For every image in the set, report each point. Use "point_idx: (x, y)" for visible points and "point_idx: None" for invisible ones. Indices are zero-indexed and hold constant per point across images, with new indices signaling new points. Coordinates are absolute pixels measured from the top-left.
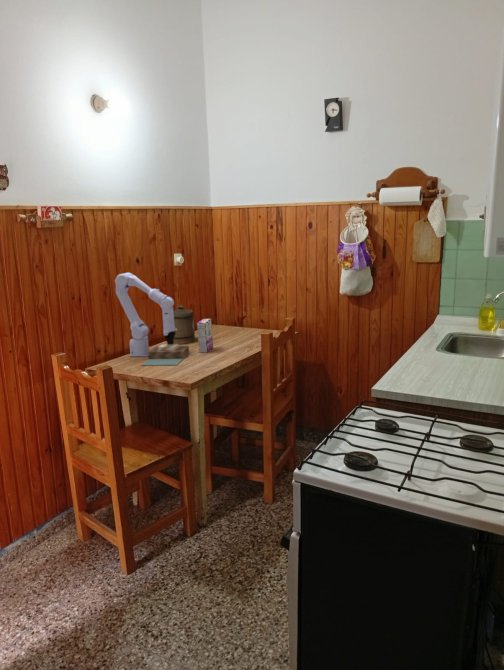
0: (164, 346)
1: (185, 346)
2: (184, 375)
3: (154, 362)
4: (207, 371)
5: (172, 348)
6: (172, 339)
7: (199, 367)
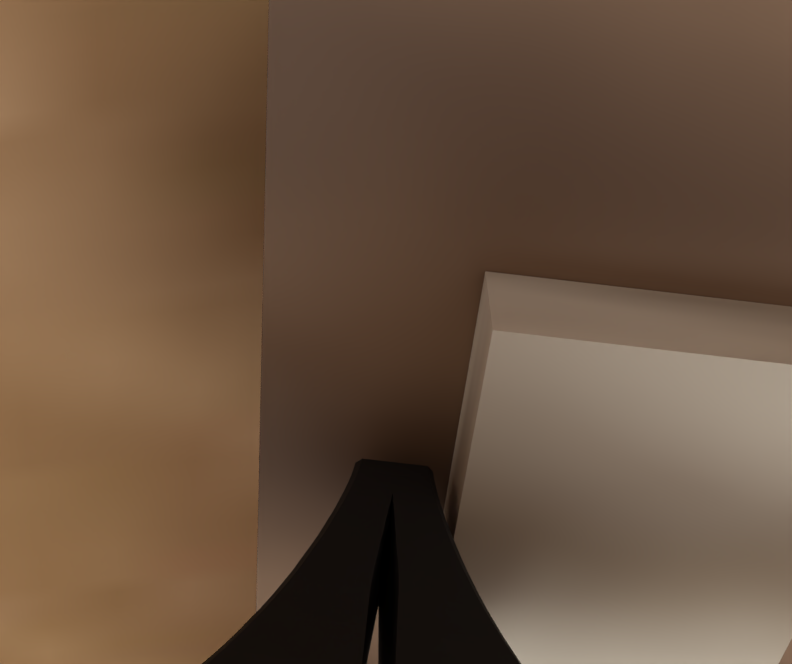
0: (736, 655)
1: (345, 47)
2: None
3: None
4: None
5: None
6: (489, 620)
7: None
